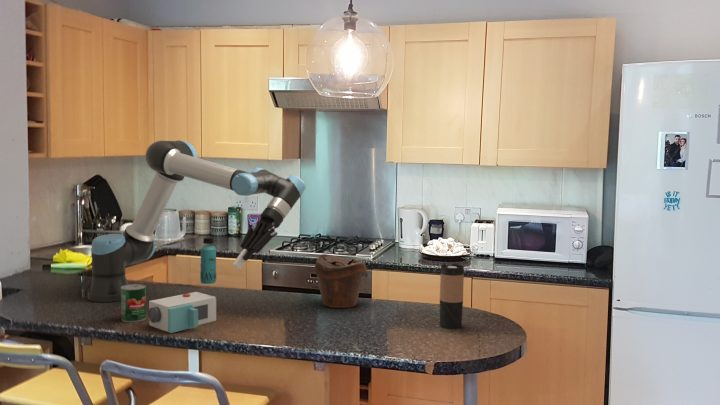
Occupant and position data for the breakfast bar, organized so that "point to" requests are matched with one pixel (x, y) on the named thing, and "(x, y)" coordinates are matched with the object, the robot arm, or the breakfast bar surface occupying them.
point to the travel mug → (451, 295)
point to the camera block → (198, 301)
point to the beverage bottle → (208, 262)
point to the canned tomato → (133, 303)
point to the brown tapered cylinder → (339, 280)
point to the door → (182, 318)
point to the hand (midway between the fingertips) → (236, 266)
